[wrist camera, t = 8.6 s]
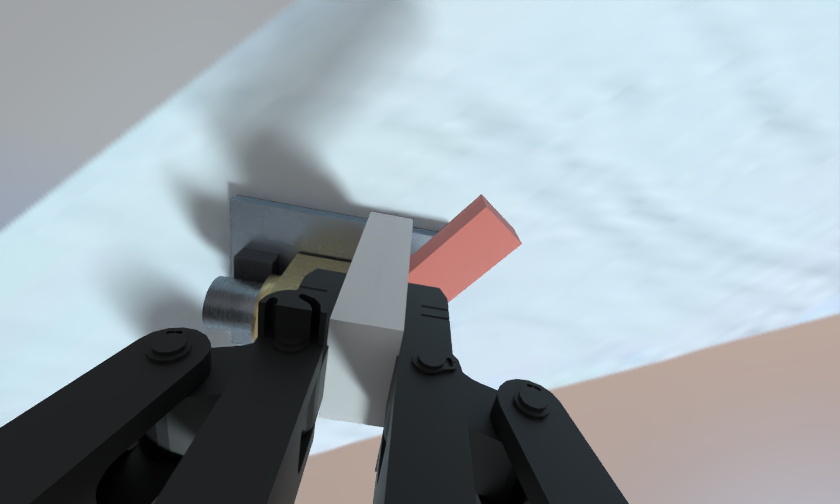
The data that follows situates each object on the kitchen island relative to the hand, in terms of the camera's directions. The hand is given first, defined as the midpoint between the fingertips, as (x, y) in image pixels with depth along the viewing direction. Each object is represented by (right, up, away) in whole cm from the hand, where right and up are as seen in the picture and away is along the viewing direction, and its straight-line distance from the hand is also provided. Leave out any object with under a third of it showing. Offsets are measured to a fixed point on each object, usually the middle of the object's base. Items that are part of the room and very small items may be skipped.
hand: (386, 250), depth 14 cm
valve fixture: (-6, -3, +22) cm, 23 cm away
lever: (-1, -3, +10) cm, 11 cm away
